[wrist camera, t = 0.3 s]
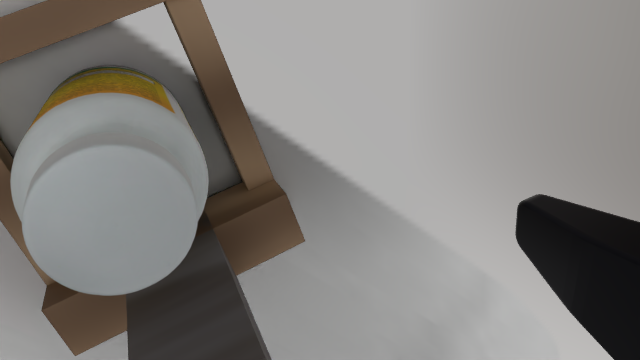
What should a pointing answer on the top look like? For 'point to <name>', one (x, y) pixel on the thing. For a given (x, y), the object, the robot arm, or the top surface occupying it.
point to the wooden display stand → (213, 226)
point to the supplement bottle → (109, 182)
